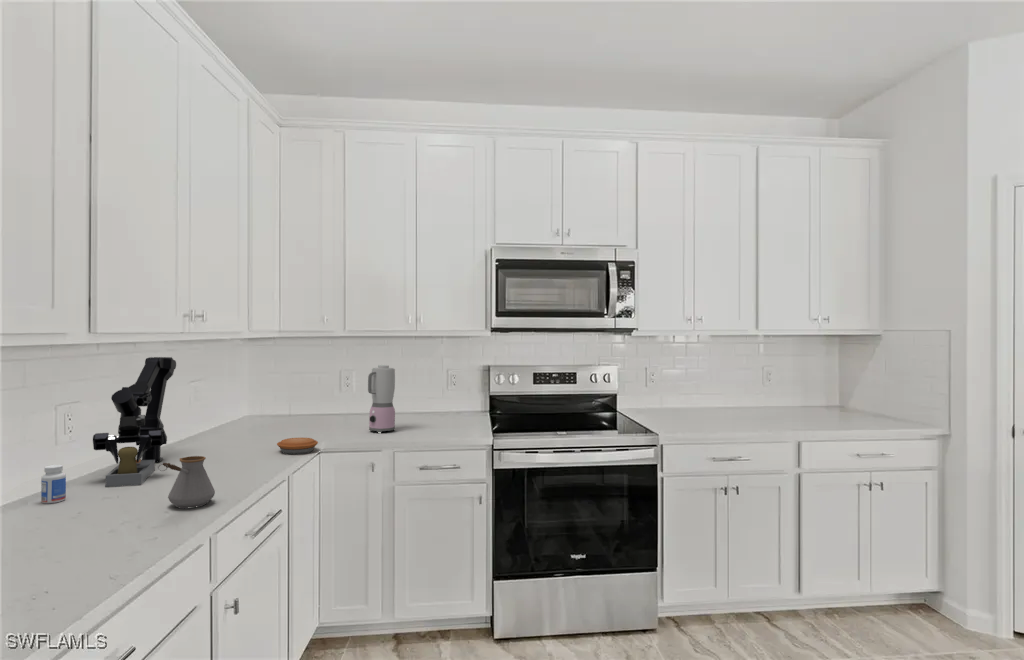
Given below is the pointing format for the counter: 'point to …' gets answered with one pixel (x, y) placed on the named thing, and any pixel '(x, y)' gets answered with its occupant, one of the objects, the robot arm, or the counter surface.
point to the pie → (297, 445)
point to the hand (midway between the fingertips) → (127, 462)
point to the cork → (127, 460)
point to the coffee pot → (190, 483)
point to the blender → (382, 398)
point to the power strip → (134, 478)
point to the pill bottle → (53, 484)
